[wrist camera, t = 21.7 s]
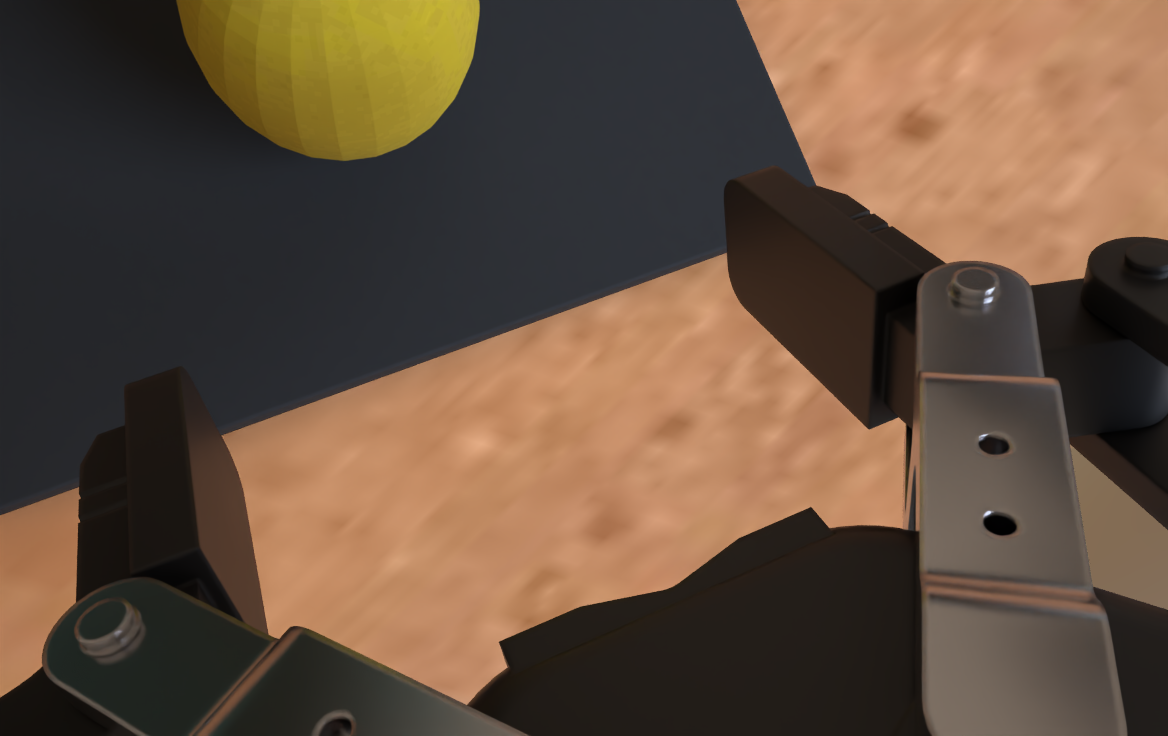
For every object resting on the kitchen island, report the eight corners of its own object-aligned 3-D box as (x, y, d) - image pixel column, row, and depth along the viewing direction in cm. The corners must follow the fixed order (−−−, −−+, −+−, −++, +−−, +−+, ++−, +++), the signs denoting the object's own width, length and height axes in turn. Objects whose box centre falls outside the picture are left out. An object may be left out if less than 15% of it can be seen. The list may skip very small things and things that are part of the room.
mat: (625, -223, 26) (631, -246, 25) (816, 220, 25) (829, 210, 24) (-186, -29, 22) (-208, -50, 21) (-3, 517, 20) (-20, 516, 20)
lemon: (217, 205, 21) (102, 20, 14) (229, -25, 22) (126, -321, 15) (468, 215, 22) (494, 47, 15) (469, -6, 23) (495, -275, 15)
